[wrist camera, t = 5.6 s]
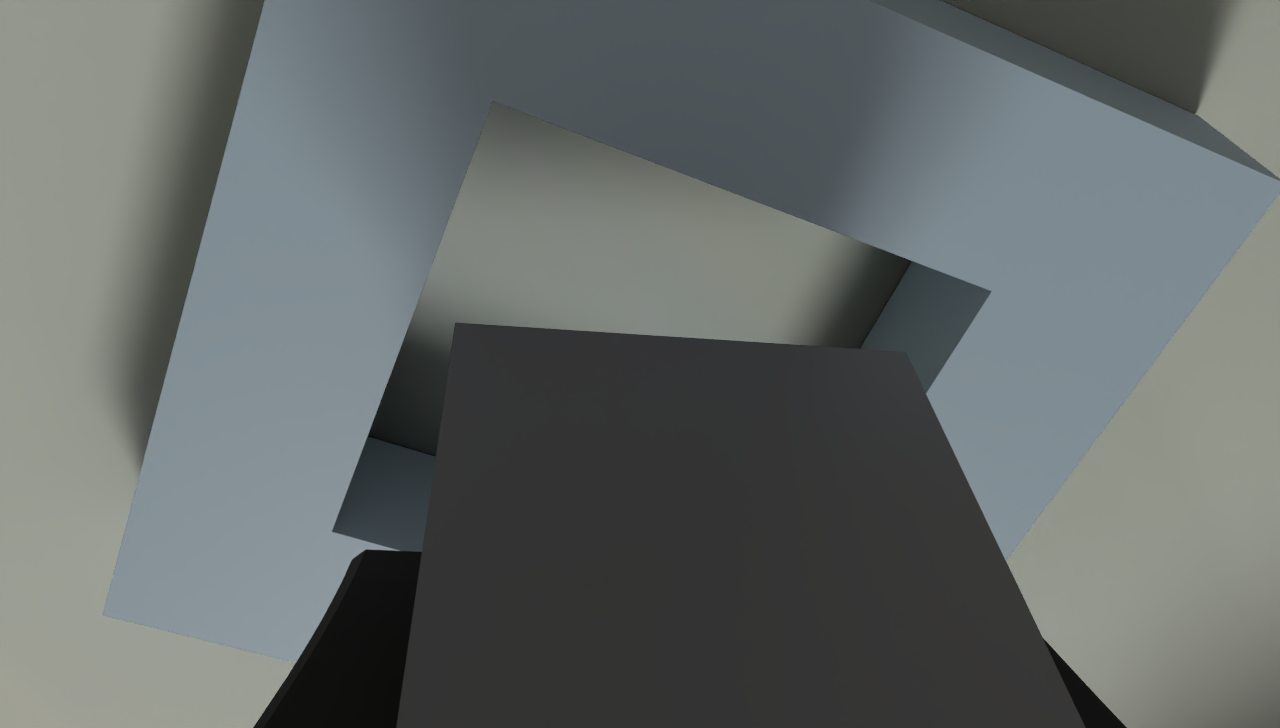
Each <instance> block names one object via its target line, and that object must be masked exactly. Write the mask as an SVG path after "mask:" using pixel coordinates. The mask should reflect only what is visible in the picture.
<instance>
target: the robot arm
mask: <svg viewBox="0 0 1280 728" xmlns="http://www.w3.org/2000/svg"><path fill="white" fill-rule="evenodd" d="M421 555H422V552H415V551H392V550H369V549H366V550H364V551H363V552H362V553H360V554H359V555H357V556H356V557H355V558H353V559H352V560H351V563H350V565H349V567H348V569H347V572H346V574H345V576H344V578H343V580H342V582H341V584H340V586H339V588H338V590H337V592H336V594H335V596H334V598H333V600H332V602H331V604H330V606H329V607H328V609H327V611H326V613H325V615H324V616H323V618H322V620H321V622H320V624H319V625H318V627H317V629H316V630H315V632H314V634H313V636H312V637H311V639H310V641H309V642H308V644H307V646H306V647H305V649H304V651H303V652H302V654H301V655H300V657H299V659H298V660H297V662H296V664H295V665H294V667H293V669H292V670H291V672H290V673H289V675H288V677H287V678H286V680H285V681H284V683H283V684H282V686H281V687H280V689H279V690H278V692H277V693H276V695H275V696H274V698H273V699H272V701H271V702H270V704H269V705H268V707H267V708H266V710H265V711H264V713H263V714H262V716H261V717H260V719H259V720H258V722H257V723H256V725H255V726H254V727H253V728H396V726H397V719H398V712H399V706H400V699H401V692H402V685H403V678H404V671H405V664H406V658H407V651H408V644H409V637H410V630H411V623H412V616H413V610H414V603H415V596H416V589H417V582H418V575H419V568H420V562H421ZM1043 640H1044V639H1043ZM1044 642H1045V644H1046V646H1047V648H1048V650H1049V652H1050V654H1051V657H1052V659H1053V661H1054V663H1055V665H1056V667H1057V669H1058V671H1059V673H1060V675H1061V677H1062V680H1063V682H1064V684H1065V686H1066V688H1067V690H1068V692H1069V694H1070V696H1071V698H1072V700H1073V703H1074V705H1075V707H1076V709H1077V711H1078V713H1079V715H1080V717H1081V719H1082V721H1083V723H1084V726H1085V728H1126V727H1125V726H1124V724H1123V723H1122V722H1121V721H1120V720H1119V719H1118V718H1117V717H1116V716H1115V715H1114V714H1113V713H1112V712H1111V711H1110V710H1109V709H1108V708H1107V706H1106V705H1105V704H1104V703H1103V702H1102V701H1101V700H1100V699H1099V698H1098V697H1097V696H1096V695H1095V694H1094V693H1093V692H1092V691H1091V689H1090V688H1089V687H1088V686H1087V685H1086V684H1085V683H1084V682H1083V681H1082V680H1081V679H1080V678H1079V677H1078V675H1077V674H1076V673H1075V672H1074V671H1073V670H1072V669H1071V668H1070V667H1069V666H1068V665H1067V664H1066V663H1065V661H1064V660H1063V659H1062V658H1061V657H1060V656H1059V655H1058V654H1057V653H1056V652H1055V651H1054V649H1053V648H1052V647H1051V646H1050V645H1049V644H1048V643H1047V642H1046V641H1045V640H1044Z"/></svg>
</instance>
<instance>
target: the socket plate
mask: <svg viewBox="0 0 1280 728" xmlns="http://www.w3.org/2000/svg"><path fill="white" fill-rule="evenodd" d="M493 101H494V102H496V103H499V104H501V105H504V106H507V107H509V108H512V109H515V110H517V111H520V112H522V113H525V114H528V115H530V116H533V117H536V118H538V119H541V120H543V121H546V122H549V123H551V124H554V125H557V126H559V127H562V128H564V129H567V130H570V131H572V132H575V133H578V134H580V135H583V136H585V137H588V138H591V139H593V140H596V141H599V142H601V143H604V144H606V145H609V146H612V147H614V148H617V149H620V150H622V151H625V152H627V153H630V154H633V155H635V156H638V157H641V158H643V159H646V160H648V161H651V162H654V163H656V164H659V165H662V166H664V167H667V168H669V169H672V170H675V171H677V172H680V173H683V174H685V175H688V176H690V177H693V178H696V179H698V180H701V181H704V182H706V183H709V184H711V185H714V186H717V187H719V188H722V189H725V190H727V191H730V192H732V193H735V194H738V195H740V196H743V197H746V198H748V199H751V200H753V201H756V202H759V203H761V204H764V205H767V206H769V207H772V208H774V209H777V210H780V211H782V212H785V213H788V214H790V215H793V216H795V217H798V218H801V219H803V220H806V221H809V222H811V223H814V224H816V225H819V226H822V227H824V228H827V229H830V230H832V231H835V232H837V233H840V234H843V235H845V236H848V237H851V238H853V239H856V240H858V241H861V242H864V243H866V244H869V245H872V246H874V247H877V248H879V249H882V250H885V251H887V252H890V253H893V254H895V255H898V256H900V257H903V258H906V259H908V260H911V261H912V263H911V264H910V266H909V268H908V269H907V271H906V273H905V274H904V276H903V278H902V279H901V281H900V283H899V284H898V286H897V288H896V289H895V291H894V293H893V294H892V296H891V298H890V299H889V301H888V303H887V304H886V306H885V308H884V309H883V311H882V313H881V314H880V316H879V318H878V320H877V321H876V323H875V325H874V326H873V328H872V330H871V331H870V333H869V335H868V336H867V338H866V340H865V341H864V343H863V345H862V346H861V348H860V349H868V350H883V351H899V352H906V353H907V355H908V357H909V359H910V362H911V364H912V366H913V368H914V370H915V372H916V374H917V376H918V378H919V380H920V382H921V385H922V387H923V389H924V391H925V393H926V395H927V397H928V399H929V401H930V403H931V405H932V408H933V410H934V412H935V414H936V416H937V418H938V420H939V422H940V424H941V426H942V429H943V431H944V433H945V435H946V437H947V439H948V441H949V443H950V445H951V447H952V449H953V452H954V454H955V456H956V458H957V460H958V462H959V464H960V466H961V468H962V470H963V472H964V475H965V477H966V479H967V481H968V483H969V485H970V487H971V489H972V491H973V493H974V495H975V498H976V500H977V502H978V504H979V506H980V508H981V510H982V512H983V514H984V516H985V518H986V521H987V523H988V525H989V527H990V529H991V531H992V533H993V535H994V537H995V539H996V541H997V544H998V546H999V548H1000V550H1001V552H1002V554H1003V556H1004V558H1005V560H1007V559H1008V557H1009V556H1010V555H1011V553H1012V552H1013V551H1014V549H1015V548H1016V547H1017V545H1018V544H1019V543H1020V541H1021V540H1022V539H1023V537H1024V536H1025V535H1026V533H1027V532H1028V531H1029V529H1030V528H1031V527H1032V525H1033V524H1034V523H1035V521H1036V520H1037V519H1038V517H1039V516H1040V514H1041V513H1042V512H1043V510H1044V509H1045V508H1046V506H1047V505H1048V504H1049V502H1050V501H1051V500H1052V498H1053V497H1054V496H1055V494H1056V493H1057V492H1058V490H1059V489H1060V488H1061V486H1062V485H1063V484H1064V482H1065V481H1066V480H1067V478H1068V477H1069V476H1070V474H1071V473H1072V471H1073V470H1074V469H1075V467H1076V466H1077V465H1078V463H1079V462H1080V461H1081V459H1082V458H1083V457H1084V455H1085V454H1086V453H1087V451H1088V450H1089V449H1090V447H1091V446H1092V445H1093V443H1094V442H1095V441H1096V439H1097V438H1098V437H1099V435H1100V434H1101V433H1102V431H1103V430H1104V429H1105V427H1106V426H1107V424H1108V423H1109V422H1110V420H1111V419H1112V418H1113V416H1114V415H1115V414H1116V412H1117V411H1118V410H1119V408H1120V407H1121V406H1122V404H1123V403H1124V402H1125V400H1126V399H1127V398H1128V396H1129V395H1130V394H1131V392H1132V391H1133V390H1134V388H1135V387H1136V386H1137V384H1138V383H1139V381H1140V380H1141V379H1142V377H1143V376H1144V375H1145V373H1146V372H1147V371H1148V369H1149V368H1150V367H1151V365H1152V364H1153V363H1154V361H1155V360H1156V359H1157V357H1158V356H1159V355H1160V353H1161V352H1162V351H1163V349H1164V348H1165V347H1166V345H1167V344H1168V343H1169V341H1170V340H1171V338H1172V337H1173V336H1174V334H1175V333H1176V332H1177V330H1178V329H1179V328H1180V326H1181V325H1182V324H1183V322H1184V321H1185V320H1186V318H1187V317H1188V316H1189V314H1190V313H1191V312H1192V310H1193V309H1194V308H1195V306H1196V305H1197V304H1198V302H1199V301H1200V300H1201V298H1202V297H1203V295H1204V294H1205V293H1206V291H1207V290H1208V289H1209V287H1210V286H1211V285H1212V283H1213V282H1214V281H1215V279H1216V278H1217V277H1218V275H1219V274H1220V273H1221V271H1222V270H1223V269H1224V267H1225V266H1226V265H1227V263H1228V262H1229V261H1230V259H1231V258H1232V257H1233V255H1234V254H1235V253H1236V251H1237V250H1238V248H1239V247H1240V246H1241V244H1242V243H1243V242H1244V240H1245V239H1246V238H1247V236H1248V235H1249V234H1250V232H1251V231H1252V230H1253V228H1254V227H1255V226H1256V224H1257V223H1258V222H1259V220H1260V219H1261V218H1262V216H1263V215H1264V214H1265V212H1266V211H1267V210H1268V208H1269V207H1270V205H1271V204H1272V203H1273V201H1274V200H1275V199H1276V197H1277V196H1278V195H1279V193H1280V179H1279V178H1278V177H1277V176H1275V175H1274V174H1273V173H1271V172H1270V171H1269V170H1268V169H1266V168H1265V167H1264V166H1262V165H1261V164H1260V163H1259V162H1257V161H1256V160H1255V159H1253V158H1252V157H1251V156H1250V155H1248V154H1247V153H1246V152H1244V151H1243V150H1242V149H1240V148H1239V147H1238V146H1237V145H1235V144H1234V143H1233V142H1231V141H1230V140H1229V139H1228V138H1226V137H1225V136H1224V135H1222V134H1221V133H1220V132H1219V131H1217V130H1216V129H1215V128H1213V127H1212V126H1211V125H1210V124H1208V123H1207V122H1206V121H1204V120H1203V119H1202V118H1200V117H1199V116H1198V115H1195V114H1193V113H1191V112H1189V111H1186V110H1184V109H1182V108H1180V107H1177V106H1175V105H1173V104H1171V103H1168V102H1166V101H1164V100H1162V99H1160V98H1157V97H1155V96H1153V95H1151V94H1148V93H1146V92H1144V91H1142V90H1139V89H1137V88H1135V87H1133V86H1130V85H1128V84H1126V83H1124V82H1122V81H1119V80H1117V79H1115V78H1113V77H1110V76H1108V75H1106V74H1104V73H1101V72H1099V71H1097V70H1095V69H1092V68H1090V67H1088V66H1086V65H1084V64H1081V63H1079V62H1077V61H1075V60H1072V59H1070V58H1068V57H1066V56H1063V55H1061V54H1059V53H1057V52H1054V51H1052V50H1050V49H1048V48H1046V47H1043V46H1041V45H1039V44H1037V43H1034V42H1032V41H1030V40H1028V39H1025V38H1023V37H1021V36H1019V35H1016V34H1014V33H1012V32H1010V31H1008V30H1005V29H1003V28H1001V27H999V26H996V25H994V24H992V23H990V22H987V21H985V20H983V19H981V18H978V17H976V16H974V15H972V14H970V13H967V12H965V11H963V10H961V9H958V8H956V7H954V6H952V5H949V4H947V3H945V2H943V1H940V0H265V1H264V5H263V9H262V13H261V16H260V20H259V24H258V28H257V31H256V35H255V39H254V43H253V47H252V50H251V54H250V58H249V62H248V66H247V69H246V73H245V77H244V81H243V85H242V88H241V92H240V96H239V100H238V103H237V107H236V111H235V115H234V119H233V122H232V126H231V130H230V134H229V138H228V141H227V145H226V149H225V153H224V156H223V160H222V164H221V168H220V172H219V175H218V179H217V183H216V187H215V191H214V194H213V198H212V202H211V206H210V210H209V213H208V217H207V221H206V225H205V228H204V232H203V236H202V240H201V244H200V247H199V251H198V255H197V259H196V263H195V266H194V270H193V274H192V278H191V281H190V285H189V289H188V293H187V297H186V300H185V304H184V308H183V312H182V316H181V319H180V323H179V327H178V331H177V335H176V338H175V342H174V346H173V350H172V353H171V357H170V361H169V365H168V369H167V372H166V376H165V380H164V384H163V388H162V391H161V395H160V399H159V403H158V406H157V410H156V414H155V418H154V422H153V425H152V429H151V433H150V437H149V441H148V444H147V448H146V452H145V456H144V460H143V463H142V467H141V471H140V475H139V478H138V482H137V486H136V490H135V494H134V497H133V501H132V505H131V509H130V513H129V516H128V520H127V524H126V528H125V531H124V535H123V539H122V543H121V547H120V550H119V554H118V558H117V562H116V566H115V569H114V573H113V577H112V581H111V585H110V588H109V592H108V596H107V600H106V603H105V607H104V611H103V616H107V617H111V618H115V619H119V620H123V621H127V622H131V623H135V624H139V625H144V626H148V627H152V628H156V629H160V630H164V631H168V632H172V633H176V634H180V635H184V636H188V637H192V638H196V639H200V640H204V641H208V642H213V643H217V644H221V645H225V646H229V647H233V648H237V649H241V650H245V651H249V652H253V653H257V654H261V655H265V656H269V657H273V658H277V659H282V660H286V661H290V662H294V663H296V662H297V660H298V659H299V657H300V655H301V654H302V652H303V651H304V649H305V647H306V646H307V644H308V642H309V641H310V639H311V637H312V636H313V634H314V632H315V630H316V629H317V627H318V625H319V624H320V622H321V620H322V618H323V616H324V615H325V613H326V611H327V609H328V607H329V606H330V604H331V602H332V600H333V598H334V596H335V594H336V592H337V590H338V588H339V586H340V584H341V582H342V580H343V578H344V576H345V574H346V572H347V569H348V567H349V565H350V563H351V560H352V559H353V558H355V557H356V556H357V555H359V554H360V553H362V552H363V551H364V550H366V549H369V550H392V551H415V552H422V548H423V541H424V534H425V527H426V521H427V514H428V507H429V500H430V493H431V486H432V479H433V473H434V466H435V459H436V457H435V456H431V455H428V454H424V453H421V452H418V451H414V450H411V449H408V448H404V447H401V446H398V445H394V444H391V443H388V442H384V441H381V440H378V439H374V438H371V437H368V434H369V431H370V428H371V426H372V423H373V420H374V418H375V415H376V412H377V410H378V407H379V404H380V402H381V399H382V396H383V394H384V391H385V388H386V386H387V383H388V380H389V377H390V375H391V372H392V369H393V367H394V364H395V361H396V359H397V356H398V353H399V351H400V348H401V345H402V343H403V340H404V337H405V335H406V332H407V329H408V327H409V324H410V321H411V319H412V316H413V313H414V311H415V308H416V305H417V303H418V300H419V297H420V295H421V292H422V289H423V287H424V284H425V281H426V279H427V276H428V273H429V271H430V268H431V265H432V263H433V260H434V257H435V255H436V252H437V249H438V247H439V244H440V241H441V239H442V236H443V233H444V231H445V228H446V225H447V223H448V220H449V217H450V214H451V212H452V209H453V206H454V204H455V201H456V198H457V196H458V193H459V190H460V188H461V185H462V182H463V180H464V177H465V174H466V172H467V169H468V166H469V164H470V161H471V158H472V156H473V153H474V150H475V148H476V145H477V142H478V140H479V137H480V134H481V132H482V129H483V126H484V124H485V121H486V118H487V116H488V113H489V110H490V108H491V105H492V102H493Z"/></svg>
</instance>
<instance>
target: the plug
mask: <svg viewBox="0 0 1280 728" xmlns="http://www.w3.org/2000/svg"><path fill="white" fill-rule="evenodd" d="M396 728H1085V726H1084V723H1083V721H1082V719H1081V717H1080V715H1079V713H1078V711H1077V709H1076V707H1075V705H1074V703H1073V700H1072V698H1071V696H1070V694H1069V692H1068V690H1067V688H1066V686H1065V684H1064V682H1063V680H1062V677H1061V675H1060V673H1059V671H1058V669H1057V667H1056V665H1055V663H1054V661H1053V659H1052V657H1051V654H1050V652H1049V650H1048V648H1047V646H1046V644H1045V642H1044V640H1043V638H1042V636H1041V634H1040V631H1039V629H1038V627H1037V625H1036V623H1035V621H1034V619H1033V617H1032V615H1031V613H1030V611H1029V608H1028V606H1027V604H1026V602H1025V600H1024V598H1023V596H1022V594H1021V592H1020V590H1019V588H1018V585H1017V583H1016V581H1015V579H1014V577H1013V575H1012V573H1011V571H1010V569H1009V567H1008V564H1007V562H1006V560H1005V558H1004V556H1003V554H1002V552H1001V550H1000V548H999V546H998V544H997V541H996V539H995V537H994V535H993V533H992V531H991V529H990V527H989V525H988V523H987V521H986V518H985V516H984V514H983V512H982V510H981V508H980V506H979V504H978V502H977V500H976V498H975V495H974V493H973V491H972V489H971V487H970V485H969V483H968V481H967V479H966V477H965V475H964V472H963V470H962V468H961V466H960V464H959V462H958V460H957V458H956V456H955V454H954V452H953V449H952V447H951V445H950V443H949V441H948V439H947V437H946V435H945V433H944V431H943V429H942V426H941V424H940V422H939V420H938V418H937V416H936V414H935V412H934V410H933V408H932V405H931V403H930V401H929V399H928V397H927V395H926V393H925V391H924V389H923V387H922V385H921V382H920V380H919V378H918V376H917V374H916V372H915V370H914V368H913V366H912V364H911V362H910V359H909V357H908V355H907V353H906V352H899V351H883V350H868V349H852V348H837V347H821V346H806V345H791V344H775V343H760V342H744V341H729V340H713V339H698V338H682V337H667V336H652V335H636V334H621V333H605V332H590V331H574V330H559V329H544V328H528V327H513V326H497V325H482V324H466V323H455V329H454V336H453V342H452V349H451V356H450V363H449V370H448V377H447V384H446V390H445V397H444V404H443V411H442V418H441V425H440V431H439V438H438V445H437V452H436V459H435V466H434V473H433V479H432V486H431V493H430V500H429V507H428V514H427V521H426V527H425V534H424V541H423V548H422V555H421V562H420V568H419V575H418V582H417V589H416V596H415V603H414V610H413V616H412V623H411V630H410V637H409V644H408V651H407V658H406V664H405V671H404V678H403V685H402V692H401V699H400V706H399V712H398V719H397V726H396Z"/></svg>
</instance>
